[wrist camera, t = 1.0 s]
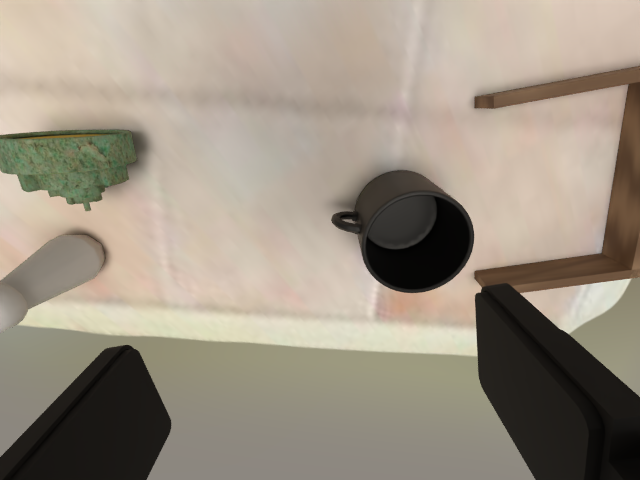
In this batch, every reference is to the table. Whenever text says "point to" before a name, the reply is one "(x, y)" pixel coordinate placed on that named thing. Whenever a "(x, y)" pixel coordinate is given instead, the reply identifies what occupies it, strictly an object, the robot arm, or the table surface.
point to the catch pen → (625, 204)
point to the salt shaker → (48, 275)
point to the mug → (409, 232)
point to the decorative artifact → (68, 161)
